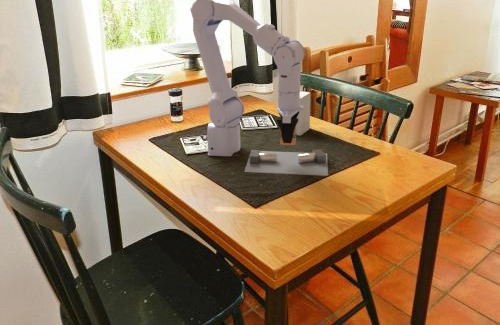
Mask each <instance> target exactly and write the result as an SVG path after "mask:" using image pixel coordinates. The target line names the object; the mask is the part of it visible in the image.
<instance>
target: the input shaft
mask: <svg viewBox="0 0 500 325" xmlns="http://www.w3.org/2000/svg"><path fill="white" fill-rule="evenodd" d="M260 151H261V150H260V149H251V150H250V153H249V156H250V164H259V162H277V154H274V153H260Z"/></svg>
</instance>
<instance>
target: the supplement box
mask: <svg viewBox="0 0 500 325" xmlns="http://www.w3.org/2000/svg"><path fill="white" fill-rule="evenodd" d="M311 94H312V93H311V92H309V91H303V90H302V91H301V90H300V103H299V106H304V110H303V111H299V114H298V116H297V119H299V120H298V123H297V125H296V136H302V135H304V133H306V132H307V131H309V130H310V127H311V126H310V125H311V123H310V122H311V96H312V95H311Z"/></svg>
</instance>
